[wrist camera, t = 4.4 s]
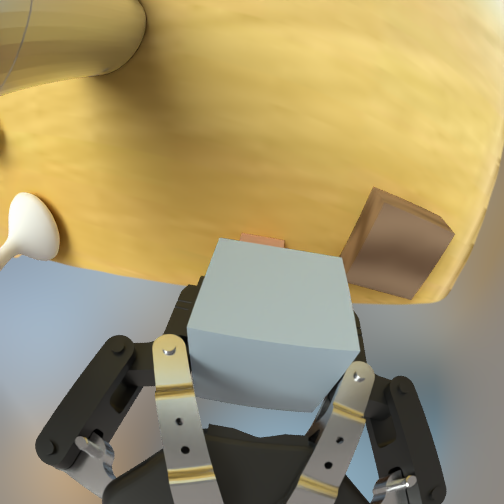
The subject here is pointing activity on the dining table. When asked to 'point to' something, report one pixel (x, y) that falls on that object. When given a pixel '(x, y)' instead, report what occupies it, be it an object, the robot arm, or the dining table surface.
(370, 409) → the robot arm
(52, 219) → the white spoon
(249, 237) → the terracotta block
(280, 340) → the slate block
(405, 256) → the walnut base block
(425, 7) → the dining table surface
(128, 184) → the dining table surface
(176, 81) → the dining table surface
